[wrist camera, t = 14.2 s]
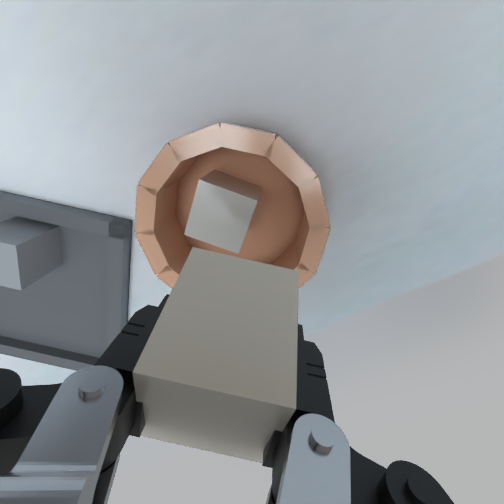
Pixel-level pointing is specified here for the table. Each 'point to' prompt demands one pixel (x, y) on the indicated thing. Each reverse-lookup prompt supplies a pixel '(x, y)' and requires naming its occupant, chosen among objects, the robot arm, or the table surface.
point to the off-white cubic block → (222, 357)
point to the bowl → (265, 213)
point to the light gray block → (27, 251)
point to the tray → (69, 288)
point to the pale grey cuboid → (222, 210)
